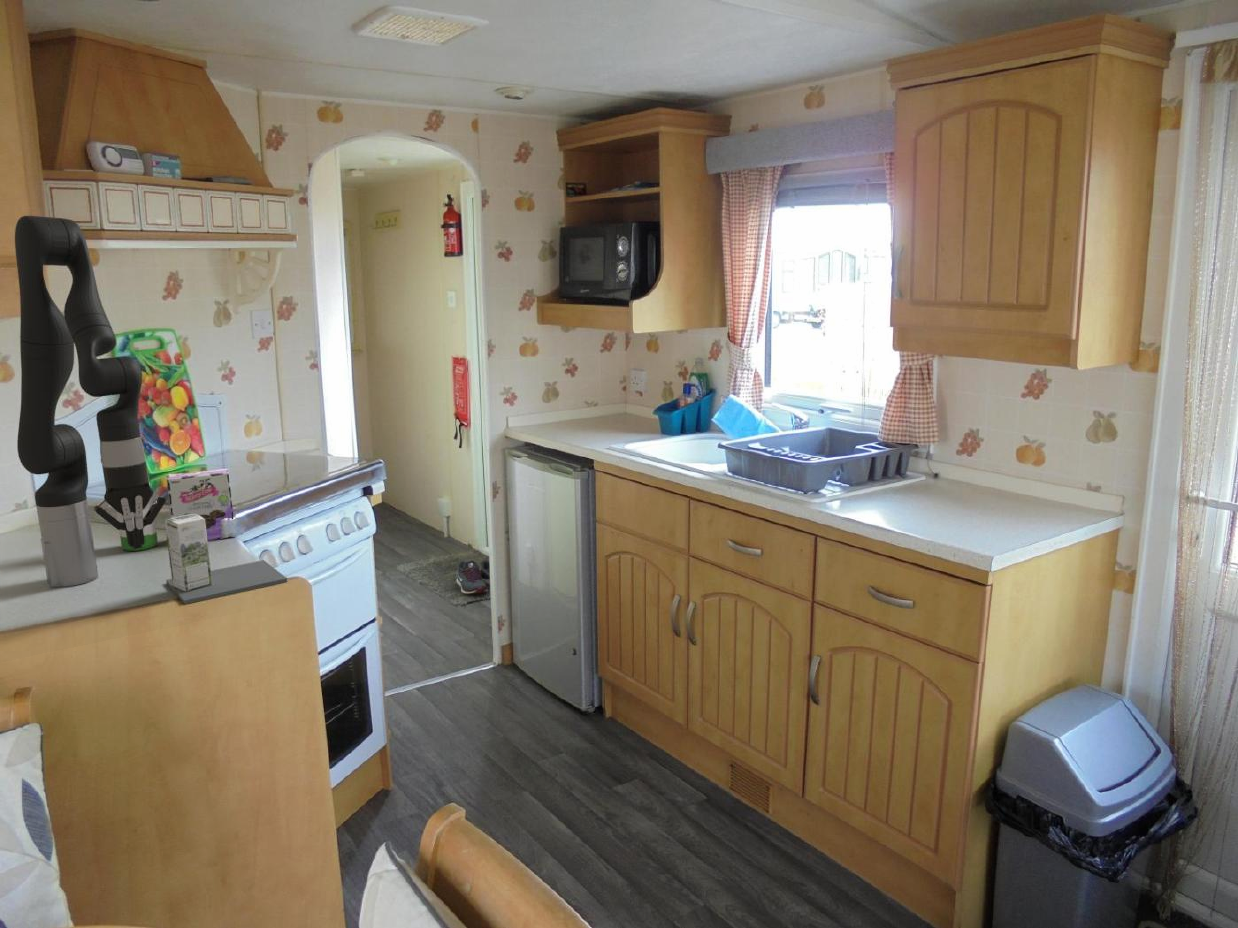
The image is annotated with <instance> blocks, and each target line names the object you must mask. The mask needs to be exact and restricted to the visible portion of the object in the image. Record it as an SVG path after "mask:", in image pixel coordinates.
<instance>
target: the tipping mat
mask: <svg viewBox="0 0 1238 928" xmlns="http://www.w3.org/2000/svg"><path fill="white" fill-rule="evenodd" d="M211 578H212V584H211V585H208V586H205V587H201V588H198V589H194V590H190V591H186V592H185V591H183V590H180V589H178V588H176V587H174V586H173V584H172V578H169V579H166V585H167V586H168V587H169V588H170V589H171V590H172V592H173V593H174V594H175V595H176V596H177V597H178V599H180V601H181V602H182V603H183V604H184V605H188V604H193V603H197V602H201V601H203V602H204V601H206V600H211V599H215V598H216V599H217V598H220V597H225V596H229V595H234V594H238V593H242V592H247V591H252V590H256V589H261V588H266V587H270V586H274V585H279V584H284V583H288V578H287V576H285V575H283V573H281V572H280V571H278V570H277V569H275V567H273V565H271V564H269V562H267V561H265V560H264V559H263V560H258V561H252V562H248V563H244V564H237V565H233V566H228V567H224V568H219V569H214V570H211Z"/></svg>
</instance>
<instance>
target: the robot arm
mask: <svg viewBox="0 0 1238 928" xmlns="http://www.w3.org/2000/svg"><path fill="white" fill-rule="evenodd" d="M14 246H15V259H16V266H17V276H18V288H19V302H20V307H19V308H20V329H19V330H20V332H19V333H20V334H19V341H20V343H19V344H20V347H19V348H20V352H19V353H20V367H21V370H20V371H21V375H20V376H21V384H20V392H21V393H20V409H19V410H20V412H19V421H18V429H17V430H18V432H17V440H16V442H17V455H18V459H19V462H20V464H21V465H22V466H23V468H24V469H25V470H26V471H28V472H29V473H30V474H33V475H44V474H45V475H46V474H47V478H46V480H45V481H44V483H43V484H42V485H41V486H39V488H38V489H37V490H36V491H35V493H34V499H35V500H34V501H35V506H36V513H37V518H38V524H39V531H40V537H41V538H40V542H41V543H40V544H41V550H42V555H43V556H42V557H43V561H44V568H45V573H46V581H47V583H48V584H49V586H50V588H51V589H52V588H57V587H58V588H59V587H71V586H76V585H82V584H86V583H89V582H91V581H93V580H95V579H97V578H98V577H99V571H98V564H97V557H96V550H95V545H94V538H93V537H94V536H93V530H92V525H91V524H92V523H91V517H90V511H89V505H88V498H87V489H88V485H89V472H88V463H87V460H88V459H87V452H86V447H85V446H86V445H85V442H84V439H83V437H82V435H81V433H80V432H79V431H78V429H76V428H75V427H74V426H72V425H70V424H66V423H58V424H56V423H55V417H56V409H57V405H58V402H59V400H60V397H61V396H62V393H64V392H63V391H64V389H65V388H66V386H67V384H68V382H69V380H70V377H71V375H72V373H73V369H74V365H75V351H76V354H77V355H76V356H77V362H78V382H79V385H80V388H81V389H82V391H84V393H86V394H87V395H88V396H91V397H94V398H100V397H108V396H116V395H119V397H118V400H117V401H116V403H115V404H113V405H111V406H108V407H105V408H103V409H100V410H99V411H97V413H96V417H95V418H96V425H97V432H98V438H99V452H100V453H99V455H100V463H101V466H102V467H101V468H102V473H103V480H104V486H105V492H104V493H105V494H104V496H103V500H102V502H101V503H100V504H99V505H95V506H94V507H93V510H94V512H96V514H97V515H98V516H100V517H101V518H102V519H104V520H105V521H106V522H107V523H109V524H110V525H111V526H112V527H114V528H115V529H116V530H118V531H119V530H125V531H126V536H127V543H128V545H129V546H130V547H132V548H133V549H138V548H142V545H143V544H144V543H145V540H144V533H143V528H144V527H145V526H147V525H150V524H152V523H153V521H154V519H155V520H156V518H157V516H158V515H159V513H160V512H161V510H162V508H163V507H164V505H165V503H167V502H166V501H167V499H166V498H165V496H162V495H160V494H157V493H155V492H154V490H153V489H154V488H152V486H151V484H150V485H149V481H150V478H149V479H148V474H149V471H148V472H147V469H148V466H147V461H146V453H145V448H144V444H143V441H142V437H141V429H140V423H139V404H140V396H141V390H142V384H143V371H142V369H141V366H140V364H139V363H138V361H137V360H135V359H134V358H132V357H131V356H115V357H105V358H97V357H100V356H104V355H106V354H109V353H110V352H112V351H113V350H114V349H115V348H116V346H117V344H118V343H117V338H116V335H115V334H116V333H115V332H114V330H113V328H112V325H111V323H110V321H109V318H108V317H107V313H106V312H105V308H104V306H103V304H102V301H101V300H102V299H101V298H100V294H99V290H98V286H97V285H98V284H97V282H96V281H97V280H96V277H95V272H94V268H93V265H92V260H91V256H90V252H89V251H90V250H89V248H88V244H87V241H86V237H85V234H84V232H83V230H82V229H81V227H80V225H79V224H78V223H77V222H76V221H75V220H72V219H69V218H63V217H61V218H60V217H52V216H50V217H49V216H41V215H39V216H38V215H37V216H36V215H23V216H21V217H20V218H19V219H17V222H16V225H15V230H14ZM44 266H58V267H67V268H68V270H69V272H70V274H71V277H72V283H71V287H70V290H69V292H68V296H67V298H66V301H65V303H64V309H63V312H62V311H61V309H59V307H58V305H57V304H56V303H55V301H54V300H53V299H52V297H51V294H50V292H49V290H48V289H47V285H46V280H45V274H44ZM63 313H64V314H63ZM151 498H152V500H151V503H152V506H151V507H150V509H149V511H148V512H147V514H146V515H145V517H144V518H143V510H144V509H145V507H146V506H147V504H148V502H149V501H150V499H151ZM109 506H110V507H111V508H113V509H114V510H115V511H116V513H117V512H119V513H121V516H122V518H123V522H124V523H123V522H119V521H118V519H117V518H116V517H114V516H113V515H112V514H110V511H111V509H110V508H109ZM132 512H133V517H134V527H135V528H134V527H133V522H132V517H131V513H132Z"/></svg>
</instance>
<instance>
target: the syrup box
mask: <svg viewBox="0 0 1238 928" xmlns="http://www.w3.org/2000/svg"><path fill="white" fill-rule="evenodd" d="M164 524H165V525H164V526H165V533H166V535H165V536H166V540H167V550H168V558H169V567H170V572H171V573H170V574H171V579H172V584H173V586H174V587H176V588H178V589H180V590H183V591H185V592H186V591H190V590H194V589H198V588H201V587H205V586H208V585H211V584H212V578H211V571H212V570H211V562H210V554H209V553H210V552H209V546H208V545H209V544H208V541H207V533H206V524H205V519H204V518H203V517H201V516H199V515H196V514H188V515H183V516H179V517H174V518H171V517H170V518H166V519H164Z"/></svg>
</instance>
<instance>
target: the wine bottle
mask: <svg viewBox="0 0 1238 928" xmlns="http://www.w3.org/2000/svg"><path fill="white" fill-rule="evenodd" d="M147 472H148V479H149V485H150V486H151V482H150V476H149V468H147ZM151 500H152V498H151V499H150V501H149V502H148V504H147V506H146V507H145V509H144V510H143V518H144V517H145V515H146V514H147V512H148V511H149V509H150V507H151V506H152V503H151ZM116 517H117V518H116V519H117V520H118V521H119V522H123V518H122V516H121V513H119V512H117V511H116ZM131 517H132V522H133V527H134V517H133V512H132V513H131ZM123 523H124V522H123ZM134 528H135V527H134ZM118 531H119V537H120V538H119V539H120V545H121V548H122V549H123V550H124V551H128V552H139V551H144V550H145V551H146V550H149V549H152V548H154V547H156V545H157V543H158V534H157V525H156V518H155V519H154V521H153V523H152V524H150V525H147V526H145V527H144V528H143V533H144V540H145V543H144V544H143V545H142V548H138V549H133V548H132V547H130V546H129V545H128V543H127V536H126V531H125V530H118Z"/></svg>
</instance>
